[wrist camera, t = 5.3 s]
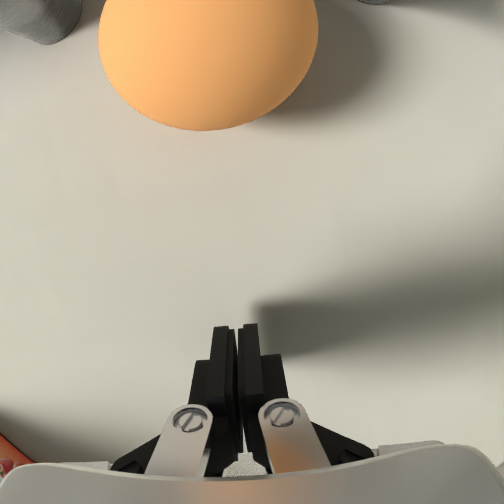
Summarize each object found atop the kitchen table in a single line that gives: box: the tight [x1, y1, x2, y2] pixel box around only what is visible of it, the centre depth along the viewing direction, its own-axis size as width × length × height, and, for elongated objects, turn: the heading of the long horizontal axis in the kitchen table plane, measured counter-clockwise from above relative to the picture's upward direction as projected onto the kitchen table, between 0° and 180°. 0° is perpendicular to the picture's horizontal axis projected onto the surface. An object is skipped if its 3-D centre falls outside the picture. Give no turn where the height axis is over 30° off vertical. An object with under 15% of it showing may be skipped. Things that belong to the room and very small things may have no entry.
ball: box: [98, 0, 319, 131], centre depth 7 cm, size 6×6×6 cm
